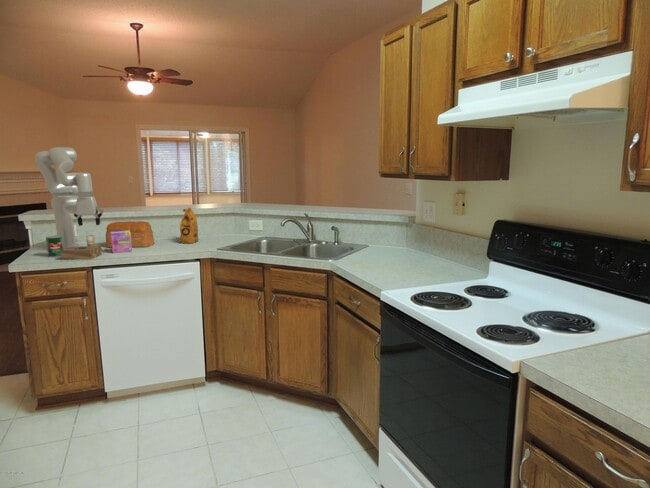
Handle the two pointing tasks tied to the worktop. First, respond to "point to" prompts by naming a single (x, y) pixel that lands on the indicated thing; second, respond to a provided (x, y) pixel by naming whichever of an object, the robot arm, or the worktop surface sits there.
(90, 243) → the peg
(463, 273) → the worktop surface
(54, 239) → the canned tomato
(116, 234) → the box
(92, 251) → the board
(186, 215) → the coffee package
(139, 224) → the bread
